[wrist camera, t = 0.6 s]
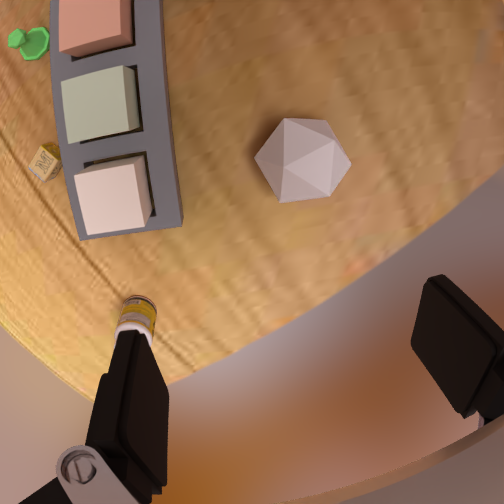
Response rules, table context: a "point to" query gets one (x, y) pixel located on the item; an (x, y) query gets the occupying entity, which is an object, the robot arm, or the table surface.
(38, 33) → the game piece
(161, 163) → the board
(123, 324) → the supplement bottle
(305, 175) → the die
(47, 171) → the alphabet block
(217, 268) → the table surface
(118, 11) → the terracotta block
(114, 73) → the green block
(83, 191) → the cream block
